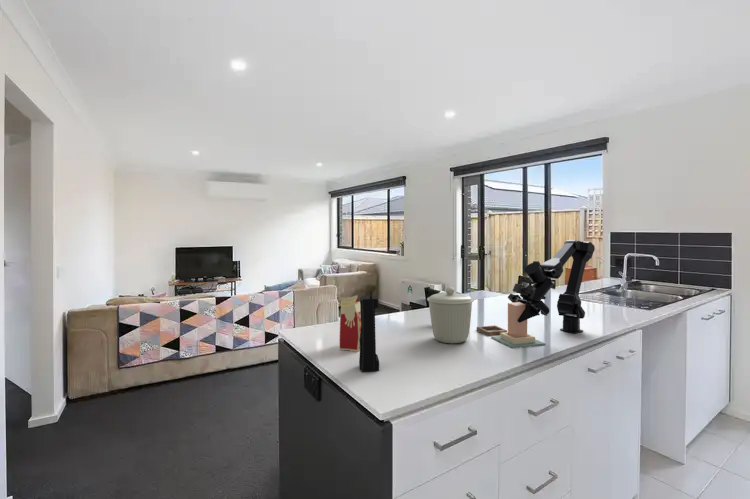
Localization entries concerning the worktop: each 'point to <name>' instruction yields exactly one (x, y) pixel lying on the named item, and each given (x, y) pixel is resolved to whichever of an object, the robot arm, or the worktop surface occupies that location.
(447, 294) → the canister
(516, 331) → the peg
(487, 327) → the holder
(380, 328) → the worktop surface
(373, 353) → the portable radio
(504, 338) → the mat
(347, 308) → the milk carton
